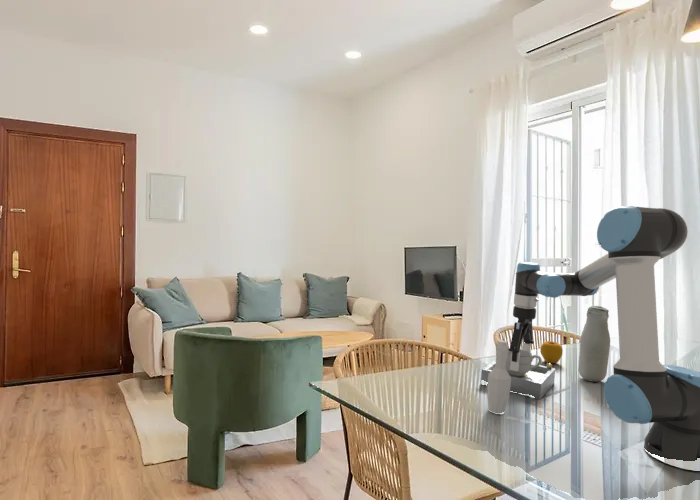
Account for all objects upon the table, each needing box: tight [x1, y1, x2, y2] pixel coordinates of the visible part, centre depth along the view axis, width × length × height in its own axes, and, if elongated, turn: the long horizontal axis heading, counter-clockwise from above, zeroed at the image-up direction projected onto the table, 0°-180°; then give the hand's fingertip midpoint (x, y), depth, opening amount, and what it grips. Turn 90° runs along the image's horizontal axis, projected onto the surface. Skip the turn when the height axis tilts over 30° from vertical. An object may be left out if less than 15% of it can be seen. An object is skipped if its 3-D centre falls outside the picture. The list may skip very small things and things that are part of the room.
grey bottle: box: [578, 305, 611, 382], centre depth 181 cm, size 10×10×28 cm
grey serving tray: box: [480, 359, 556, 401], centre depth 174 cm, size 20×20×7 cm
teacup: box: [506, 347, 543, 376], centre depth 173 cm, size 14×11×8 cm
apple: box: [540, 340, 563, 364], centre depth 201 cm, size 9×8×9 cm
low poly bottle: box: [486, 339, 511, 413], centre depth 148 cm, size 6×6×22 cm
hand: (519, 365), depth 173 cm, fingers open, 13 cm apart
